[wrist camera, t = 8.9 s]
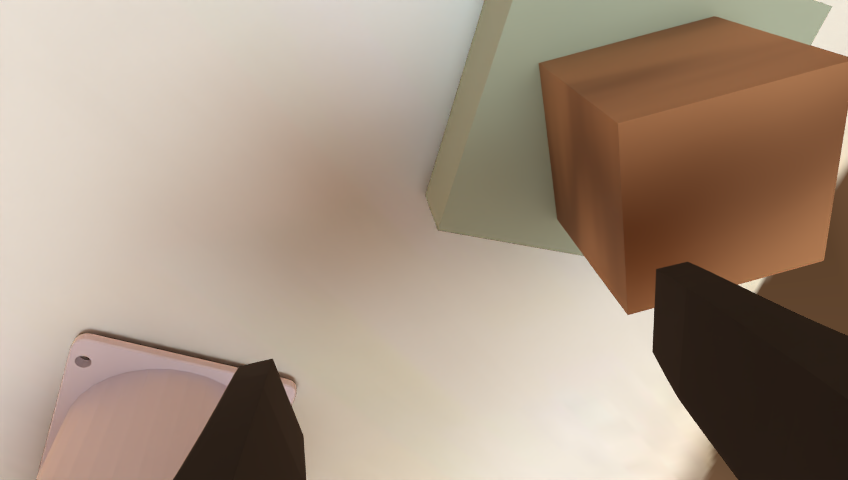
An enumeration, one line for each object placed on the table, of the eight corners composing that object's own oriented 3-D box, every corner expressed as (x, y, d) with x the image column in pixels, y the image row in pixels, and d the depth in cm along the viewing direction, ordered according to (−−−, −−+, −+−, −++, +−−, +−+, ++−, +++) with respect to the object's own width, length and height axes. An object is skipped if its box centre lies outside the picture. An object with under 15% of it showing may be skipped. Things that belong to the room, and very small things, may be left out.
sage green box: (643, 231, 23) (682, 273, 21) (422, 188, 21) (438, 230, 18) (763, -9, 19) (832, 6, 17) (508, -96, 17) (542, -93, 14)
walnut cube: (709, 177, 19) (823, 260, 15) (557, 219, 19) (627, 314, 15) (714, 15, 16) (855, 58, 12) (538, 63, 16) (617, 123, 12)
